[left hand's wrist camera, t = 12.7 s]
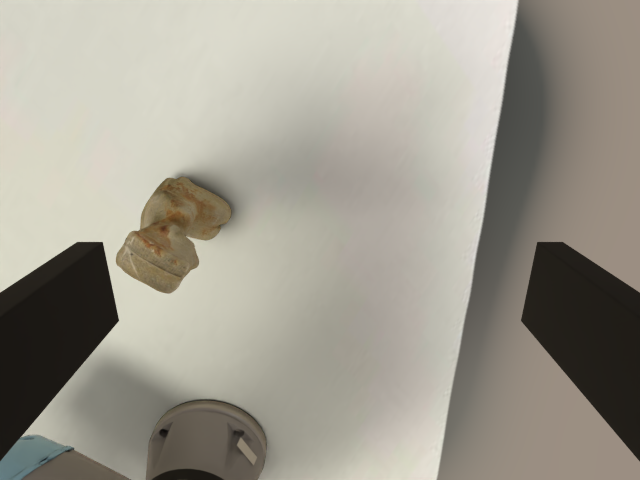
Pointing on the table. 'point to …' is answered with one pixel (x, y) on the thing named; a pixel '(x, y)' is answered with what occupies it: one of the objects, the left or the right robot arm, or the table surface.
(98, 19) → the table surface
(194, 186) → the sculpture
